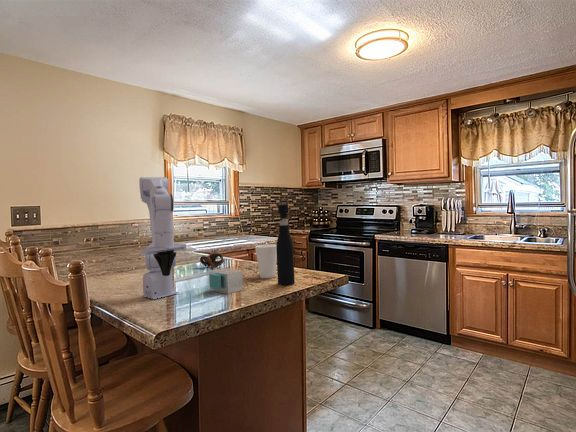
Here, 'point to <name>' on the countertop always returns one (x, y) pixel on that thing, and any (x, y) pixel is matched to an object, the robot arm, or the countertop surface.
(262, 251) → the foam cup
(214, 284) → the shaft
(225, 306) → the countertop surface
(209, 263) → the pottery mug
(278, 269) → the wine bottle
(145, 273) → the robot arm
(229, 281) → the block
